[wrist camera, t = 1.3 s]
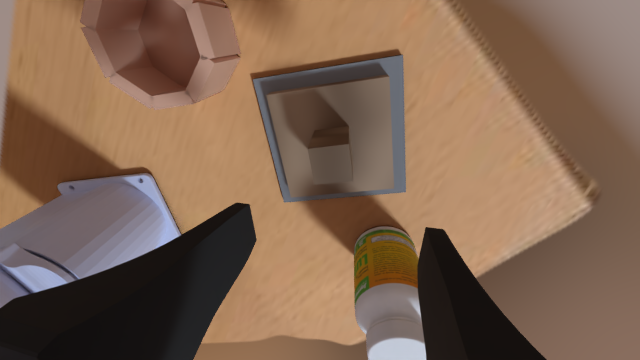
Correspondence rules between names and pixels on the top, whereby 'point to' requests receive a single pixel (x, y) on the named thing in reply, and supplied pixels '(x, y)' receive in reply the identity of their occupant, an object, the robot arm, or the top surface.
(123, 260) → the robot arm
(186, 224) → the top surface
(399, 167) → the mat
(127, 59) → the bowl
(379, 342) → the supplement bottle
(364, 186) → the lid
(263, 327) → the top surface
